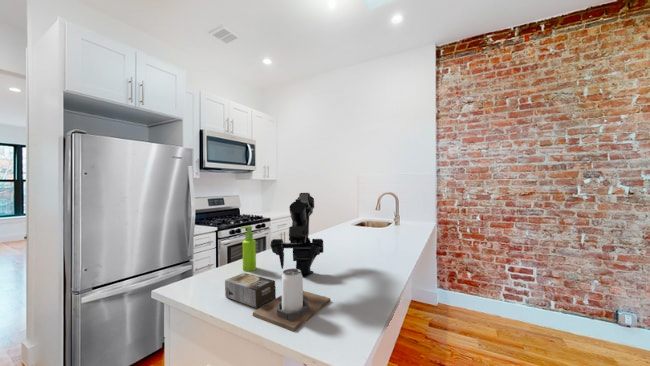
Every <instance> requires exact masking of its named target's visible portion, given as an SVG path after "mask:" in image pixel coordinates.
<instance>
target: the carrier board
mask: <svg viewBox="0 0 650 366" xmlns="http://www.w3.org/2000/svg"><path fill="white" fill-rule="evenodd" d="M330 302H331V297H327V296H323V295H320V294H316V293H312V292H309V291H305V290H303V309H301V310H300V311H294V312H286V311H283V310H282V294H281V295H280V296H278V297H276V298H275V299H273V300H271V301H269V302H268V303H266V304H264V305H262V306H260V307H258V308H257V309H256V310H255V311H253V312H252V316H253V317H255V318H258V319H261V320H263V321H266V322H268V323H270V324H274V325H276V326H278V327H281V328H284V329H287V330H289V331H292V332H295V331H297V330H298V329H299V328H300V327H301V326H302V325H304V323H306V322H307V321H308V320H309V319H311V318H312V317H313V316H315V315H316V314H317V313H318V312H319V311H320V310H322V309H323V308H324V307H325V306H327V304H329V303H330Z"/></svg>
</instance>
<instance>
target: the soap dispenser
mask: <svg viewBox="0 0 650 366" xmlns="http://www.w3.org/2000/svg"><path fill="white" fill-rule="evenodd" d="M252 228H253V226H252V225H244V226H241V227H239V229H240V230H242V229H246V232H245V234H244V237H245V239H244V240H243V241H242V270H243V271H245V272H253V271H255V270H256V269H257V251H256V249H257V246H256V242H257V241H256V239H254V237H253V236H254V235H253V232H252Z"/></svg>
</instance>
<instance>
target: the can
mask: <svg viewBox="0 0 650 366" xmlns="http://www.w3.org/2000/svg"><path fill="white" fill-rule="evenodd" d="M303 278H304V277H303V276H302V274H301V270H299V269H296V268H287V269H283V271H282V275H281V295H282V310H283V311H286V312H294V311H300V310H301V309H303V291H304V289H303V288H304V287H303V286H304V284H303V282H304V280H303Z"/></svg>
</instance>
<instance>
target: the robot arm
mask: <svg viewBox="0 0 650 366" xmlns="http://www.w3.org/2000/svg"><path fill="white" fill-rule="evenodd" d="M288 208H289V214H290V217H291V218H290V219H291V221H292V224H291V226H289V228H288V241H289V242H284V240H283V238H274V239H271V240H270V248H271V251H272V253H274V254H275V255H276V256H279V257H278V258H279V263H280V267H281V269H283V270H284V266H285V249H292V261H293V262H296V263H295V269H299V270H301V274H302V277H303V278H306V277H308V276H310V275H311V274H314V270H311V267H312V265H313V263H314V260H315V259H316V257H317V256H319V255H320V254H323V253H324V239H322V238H312V239H310V238H309V235H310V217H311V215H313V213H314V209H315V198H314V197H313V196H312V195H311V194H310V192H300V193H299V195H298V197H297V198H296V199H295V201H293V202H292V203H291V204H290V205H289V207H288Z"/></svg>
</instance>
